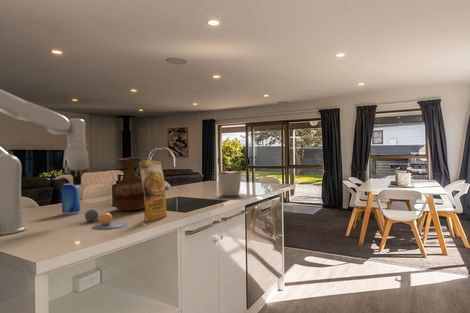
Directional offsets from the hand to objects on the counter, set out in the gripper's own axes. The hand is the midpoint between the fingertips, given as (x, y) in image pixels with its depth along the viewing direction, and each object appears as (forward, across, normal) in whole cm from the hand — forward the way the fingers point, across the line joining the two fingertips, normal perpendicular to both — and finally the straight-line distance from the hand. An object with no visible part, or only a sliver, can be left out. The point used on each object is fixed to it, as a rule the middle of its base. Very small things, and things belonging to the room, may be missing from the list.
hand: (77, 184), depth 139 cm
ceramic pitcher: (+17, -34, 0) cm, 38 cm away
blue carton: (+17, -11, -22) cm, 30 cm away
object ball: (+14, 0, +19) cm, 24 cm away
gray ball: (+14, -2, +7) cm, 16 cm away
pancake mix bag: (+17, -20, +29) cm, 39 cm away
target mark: (+17, 0, +22) cm, 28 cm away
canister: (+17, -106, +22) cm, 110 cm away
